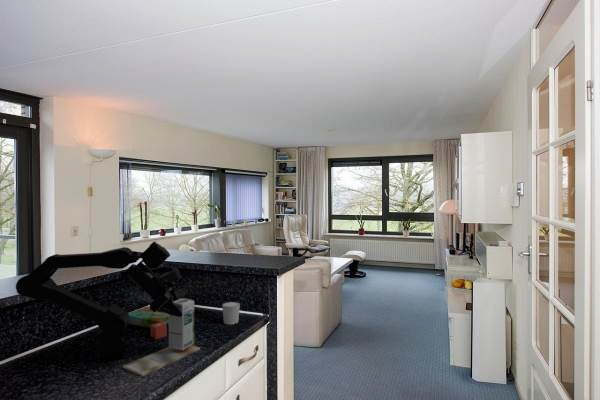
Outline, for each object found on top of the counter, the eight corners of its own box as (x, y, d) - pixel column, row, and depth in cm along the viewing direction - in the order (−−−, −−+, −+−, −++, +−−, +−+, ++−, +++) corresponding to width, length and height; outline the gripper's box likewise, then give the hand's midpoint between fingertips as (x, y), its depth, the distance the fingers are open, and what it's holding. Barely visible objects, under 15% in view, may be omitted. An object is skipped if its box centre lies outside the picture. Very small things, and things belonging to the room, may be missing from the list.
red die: (155, 339, 126) (155, 327, 126) (150, 336, 129) (150, 324, 129) (166, 336, 129) (166, 324, 129) (161, 333, 132) (161, 321, 132)
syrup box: (182, 350, 114) (183, 304, 113) (167, 347, 116) (168, 302, 116) (194, 344, 119) (195, 299, 119) (180, 341, 121) (180, 297, 121)
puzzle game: (145, 304, 151) (184, 310, 144) (145, 315, 151) (184, 322, 144) (121, 312, 140) (162, 319, 133) (121, 325, 141) (162, 332, 133)
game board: (142, 376, 100) (142, 374, 100) (122, 367, 105) (122, 365, 105) (200, 349, 118) (200, 347, 118) (181, 343, 123) (181, 341, 123)
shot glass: (220, 320, 146) (220, 302, 146) (238, 318, 148) (238, 301, 148) (223, 325, 139) (223, 307, 139) (241, 323, 142) (241, 305, 142)
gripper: (162, 265, 107) (200, 301, 110) (168, 255, 125) (201, 286, 128) (132, 294, 105) (172, 329, 108) (142, 279, 123) (177, 310, 126)
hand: (182, 311), depth 117 cm, fingers closed on syrup box, 7 cm apart
